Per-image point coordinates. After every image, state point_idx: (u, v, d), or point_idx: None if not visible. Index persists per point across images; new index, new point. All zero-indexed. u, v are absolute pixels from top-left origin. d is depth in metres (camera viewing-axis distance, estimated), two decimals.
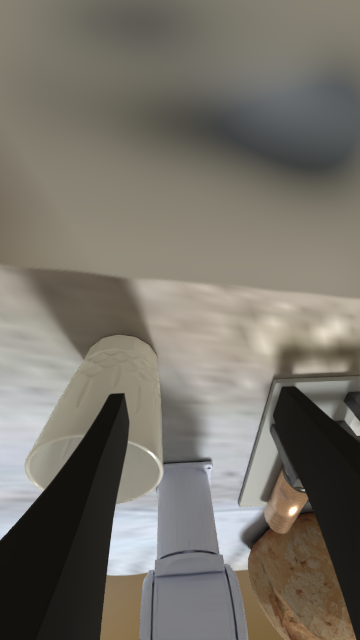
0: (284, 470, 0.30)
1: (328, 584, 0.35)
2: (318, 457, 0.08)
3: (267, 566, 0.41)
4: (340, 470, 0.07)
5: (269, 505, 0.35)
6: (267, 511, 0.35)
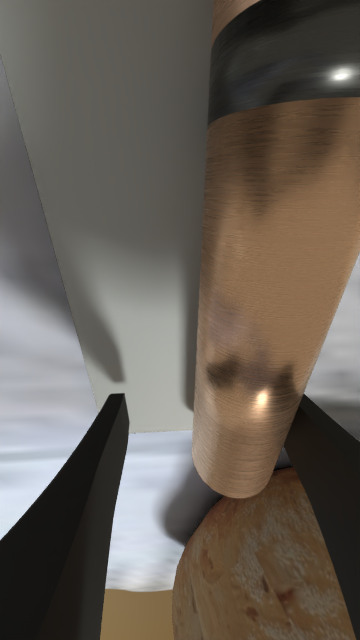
0: (241, 42, 0.04)
1: None
2: (318, 458, 0.08)
3: (196, 596, 0.16)
4: (340, 470, 0.07)
5: (206, 429, 0.09)
6: (207, 456, 0.09)
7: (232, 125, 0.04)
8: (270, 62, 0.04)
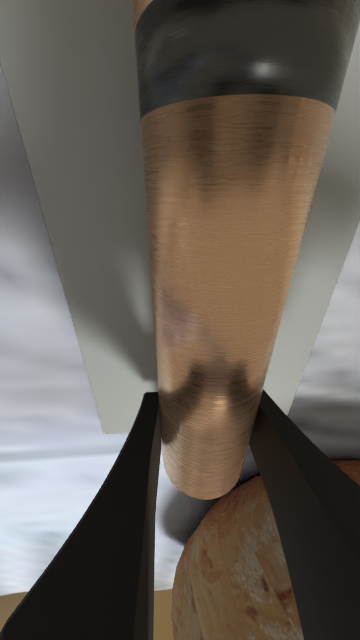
0: None
1: None
2: (275, 460, 0.08)
3: (196, 595, 0.16)
4: (292, 473, 0.07)
5: None
6: None
7: None
8: (138, 87, 0.04)
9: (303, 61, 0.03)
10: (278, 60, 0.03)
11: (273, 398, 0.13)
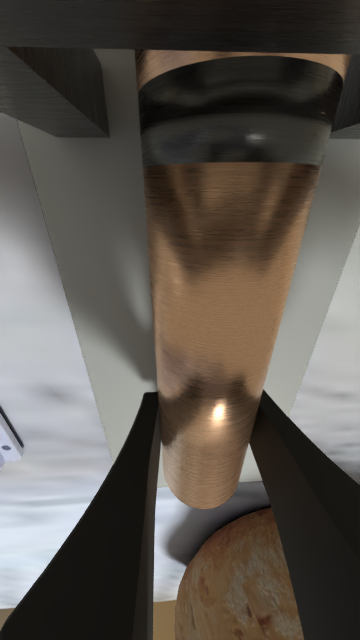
0: None
1: None
2: (275, 460, 0.08)
3: (195, 616, 0.19)
4: (292, 473, 0.07)
5: None
6: None
7: None
8: None
9: (288, 134, 0.04)
10: (265, 135, 0.04)
11: (255, 464, 0.16)
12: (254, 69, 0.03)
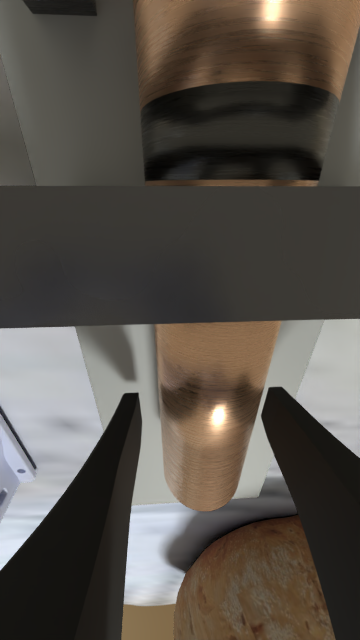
0: None
1: None
2: (301, 458, 0.08)
3: (194, 623, 0.21)
4: (321, 471, 0.07)
5: None
6: None
7: None
8: (143, 154, 0.05)
9: (288, 153, 0.04)
10: (267, 154, 0.04)
11: (248, 483, 0.18)
12: (257, 93, 0.03)
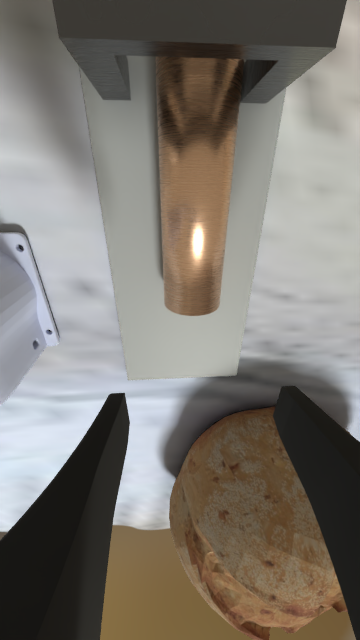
0: None
1: (273, 496, 0.19)
2: (317, 457, 0.08)
3: (185, 487, 0.25)
4: (340, 470, 0.07)
5: (162, 252, 0.14)
6: (163, 277, 0.15)
7: None
8: None
9: None
10: None
11: (227, 357, 0.22)
12: None
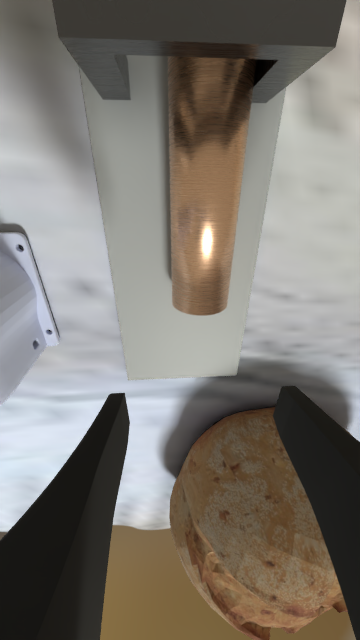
0: None
1: (273, 497, 0.19)
2: (318, 457, 0.08)
3: (186, 487, 0.25)
4: (340, 470, 0.07)
5: (173, 254, 0.14)
6: (175, 279, 0.15)
7: None
8: None
9: None
10: None
11: (227, 357, 0.22)
12: None
